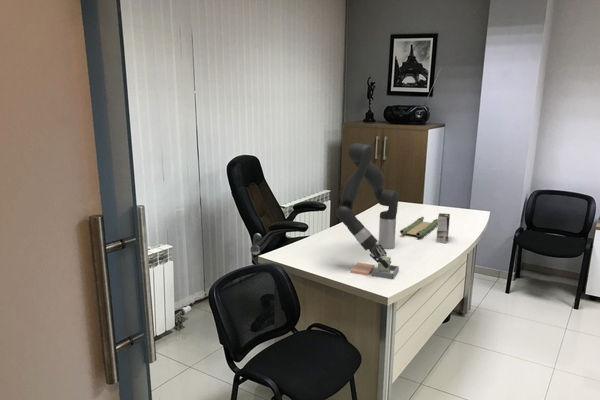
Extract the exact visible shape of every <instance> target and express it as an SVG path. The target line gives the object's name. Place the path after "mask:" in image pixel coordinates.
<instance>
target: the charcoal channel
mask: <svg viewBox="0 0 600 400" xmlns="http://www.w3.org/2000/svg"><path fill="white" fill-rule="evenodd" d="M377 269H379V263H377ZM399 270H400V266H398V265H391V264H390V273H386V272H379V270H372V271H371V274H372V275H371V276H372V277H378V278H383V279H390V280H394V279H395V278H396V276H397V274H398V272H400V271H399ZM391 271H392V273H391Z"/></svg>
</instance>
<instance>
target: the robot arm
mask: <svg viewBox="0 0 600 400" xmlns="http://www.w3.org/2000/svg"><path fill="white" fill-rule="evenodd" d="M373 155H374V149H373V147H372V145H370V144H365V143H359V142H358V143H356V142H355V143H352V144H351V145H349V148H348V158H349V160H351V162H352V163H353V164H354V165H355V166H356V167H357V169H356V170H355V171H354V173H353V174H351V175H350V177H349V178H348V179H347V180H346V182H345V184H344V187H343V190H342V193H341V199H340V202H339V206H338V208H337V210H336V217H337V218H338V219H339V220H340V221H341V223H343V225H344V226H345V227H346V228H347V230H348V231H349V232H350V233H351V234H352V235H353V237H354V238H355V239H356V241H357V242H358V243H359V245H361V247H362V248H363V249H364V250H365V251H369V252H370V254H369V256H370V258H372V259H373V261H375V262H376V263H377V264H378V263H381V264H382V265H383V266H384V267H385V268H387V267H388V266H389V265H388V264H387V262H386V261H385V260H384V259H383V257H382V256H387V254H388V253H387V252H386V250H389V249H390V250H391V249H394V248H395V246H396V245H395V244H396V243H395V242H396V229H397V228H396V226H397V224H396V223H397V214H398V207H399V206H398V205H399V193H398V192H397V191H396V190H390V189H385V188H384V187H383V184H384V183H385V176H384V174H383V172H382V171H381V169H380V167H378V166H377V165H376V164H374V163H373V162H372V159H373ZM363 178H364V179H365V181H366V182H367V184H368V185H369V187H370V189H371V190H372V193H373V194H374V197H375V199H376V200H377V203H378V205H381V206H384V207H388V209H387V210H384V211H380V213H379V222H378V223H379V227H378V230H379V232H378V240H377V238H376V237H375V236H374V235H373V234H372V233H371V232H370V230H369V229H368V228H367V227H366V226H365V225H364V224H363V223H362V222H361V221H360V220H359V219H358V218H357V216H356V215H355V214H354V213H353V212H352V211H353V207H354V203H355V200H356V198H357V195H358V192H359V189H360V185H361V183H362V181H363ZM377 243H378V244H377ZM385 249H386V250H385ZM387 257H388V256H387ZM391 263H392V261H391V262H390V264H391Z"/></svg>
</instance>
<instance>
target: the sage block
mask: <svg viewBox="0 0 600 400" xmlns="http://www.w3.org/2000/svg"><path fill="white" fill-rule="evenodd" d="M382 257H383V259H384V260H385V261H386V262H387V264H388V265H389V266H388V267H387V268H385V267H384V266H383V265H382V264H381V263H379V268H378V271H379V272H386V273H391V270H390V265H391V263H392V261H391V260H392V259H391V256H382ZM390 262H391V263H390Z"/></svg>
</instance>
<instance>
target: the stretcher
mask: <svg viewBox="0 0 600 400" xmlns="http://www.w3.org/2000/svg"><path fill="white" fill-rule="evenodd" d="M424 219H425V217H424V216H420V217H418V218H417V219H416V220H415V221H414V222H412V223H411V224H409V225H408V226H406V227H404V228H402V229H400V230H399V233H400V234H401V235H403V236H404V235H406V234H407V235H411V236H416V237H419V238H421V237H424V236H427V235H428V234H429V233H430V232H432V231H433V230H434V229H435V228H436V227H437V226H438V218H435V219H434V220H432V222H428V221H424Z"/></svg>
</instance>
